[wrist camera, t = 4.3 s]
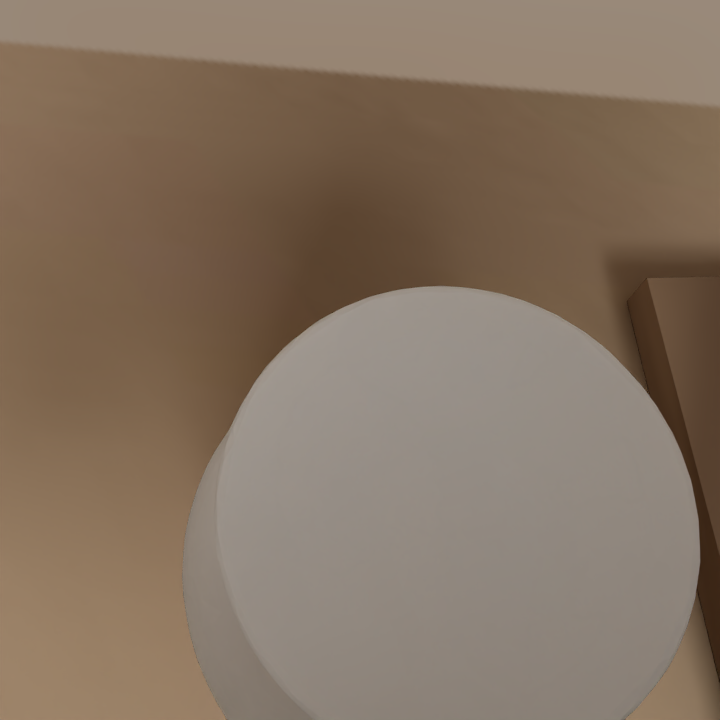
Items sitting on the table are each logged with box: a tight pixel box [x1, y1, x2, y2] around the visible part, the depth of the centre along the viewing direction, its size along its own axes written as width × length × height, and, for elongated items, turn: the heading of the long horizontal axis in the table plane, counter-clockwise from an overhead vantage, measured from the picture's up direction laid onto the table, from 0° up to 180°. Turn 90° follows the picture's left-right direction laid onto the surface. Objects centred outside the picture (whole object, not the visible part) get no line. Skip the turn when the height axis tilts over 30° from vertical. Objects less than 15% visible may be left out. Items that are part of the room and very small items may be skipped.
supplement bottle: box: [182, 286, 700, 720], centre depth 12 cm, size 7×7×13 cm
